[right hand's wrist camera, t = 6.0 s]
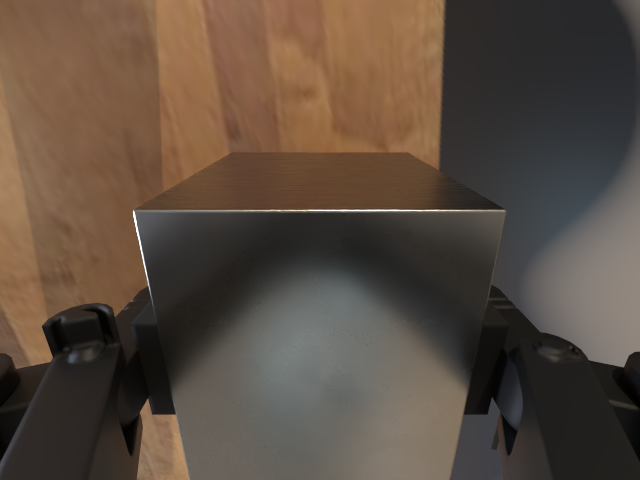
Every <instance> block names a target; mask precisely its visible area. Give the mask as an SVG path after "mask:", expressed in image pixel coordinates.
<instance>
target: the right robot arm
mask: <svg viewBox="0 0 640 480" xmlns="http://www.w3.org/2000/svg"><path fill="white" fill-rule="evenodd" d="M42 328H43V331H44V334H45V336H46V339H47V342H48V345H49V348H50V350H51V353H52V356H53V359H52V361H51V362H49V363H44V364H39V365H34V366H29V367H24V368H20V369H16V367H15V365H14V363H13V360H12V358H11V357H10V356H8V355H7V354H3V353H0V480H136V479H137V470H138V462H139V454H140V446H141V437H142V429H143V425H142V419H141V415H140V411H141V409H142V407H143V406H144V404H145V402H146V400H147V399H149V403H150V407H151V411H152V414H176V413H175V408H174V403H173V398H172V394H171V389H170V384H169V380H168V375H167V370H166V365H165V361H164V356H163V351H162V347H161V342H160V337H159V332H158V328H157V323H156V318H155V314H154V309H153V304H152V299H151V295H150V290H149V286H148V287H146V288H144V289H142V290H141V291H140V292H139V293H138V294H137V295H136V296H135V297H134V298H133V299H132V302H129V303H128V305H127V306H126V307H125V308H124V310H122V311H121V312H120V313H119V314H118V315H117V316H116V317H115V316H114V313H113V309H112V308H111V307H110V306H108V305H107V304H100V303H93V304H84V305H80V306H76V307H72V308H70V309H67V310H65V311H62V312H60V313H58V314H56V315H55V316H53V317H51V318H50V319H48V320H47V321H46V322H45V323H44V324H43V325H42ZM492 397H493V399H494V401H495V402H496V404H497V406H498V408H499V409H500V415H499V419H498V423H497V426H496V430H495V434H494V438H493V442H492V449H495V450H496V449H497V446H498V442H499V444H500V453H501V461H502V469H503V478H504V480H640V352H634V353H633V354H631V355H629V357H628V359H627V362H626V364H625V367H624V368H623V367H618V366H614V365H609V364H603V363H599V362H594V361H589V360H588V358H587V357H586V355H585V354H584V353H583V352H582V350H581V349H579V348H578V347H577V346H575V345H574V344H572V343H571V342H569V341H567V340H565V339H563V338H560V337H558V336H555V335H551V334H548V333H540V332H539V331H538V329H537V328H536V327H535V326H534V325H533V324H532V323H531V322H530V321H529V320H528V319H527V318H526V317H525V316H524V315H523V314H522V313H521V312H520V311H519V310H518V309H516V306H515V305H514V304H513V303H512V302H511V301H508V298H507V297H506V296H505V295H504V294H503V293H502V292H501V291H500V290H499V289H498V288H496V287H494V286H493V285H491V288H490V293H489V297H488V302H487V307H486V312H485V316H484V321H483V326H482V330H481V335H480V340H479V345H478V349H477V354H476V359H475V364H474V368H473V373H472V378H471V382H470V387H469V392H468V397H467V401H466V406H465V411H464V414H488V410H489V406H490V402H491V398H492Z"/></svg>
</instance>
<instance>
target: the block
mask: <svg viewBox="0 0 640 480" xmlns="http://www.w3.org/2000/svg"><path fill="white" fill-rule="evenodd" d="M133 214H134V219H135V224H136V229H137V233H138V238H139V243H140V247H141V252H142V257H143V262H144V266H145V271H146V276H147V280H148V285H149V290H150V295H151V299H152V304H153V309H154V314H155V318H156V323H157V328H158V332H159V337H160V342H161V347H162V351H163V356H164V361H165V365H166V370H167V375H168V380H169V384H170V389H171V394H172V398H173V403H174V408H175V413H176V417H177V422H178V427H179V431H180V436H181V441H182V446H183V450H184V455H185V460H186V465H187V469H188V474H189V479H190V480H450V477H451V472H452V468H453V463H454V458H455V453H456V449H457V444H458V439H459V435H460V430H461V425H462V420H463V416H464V411H465V406H466V401H467V397H468V392H469V387H470V382H471V378H472V373H473V368H474V364H475V359H476V354H477V349H478V345H479V340H480V335H481V330H482V326H483V321H484V316H485V312H486V307H487V302H488V297H489V293H490V288H491V283H492V278H493V274H494V269H495V264H496V259H497V255H498V250H499V245H500V240H501V236H502V231H503V226H504V222H505V217H506V210H505V209H503V208H502V207H500V206H498V205H497V204H495V203H493V202H492V201H490V200H488V199H486V198H485V197H483V196H481V195H480V194H478V193H476V192H474V191H473V190H471V189H469V188H468V187H466V186H464V185H462V184H461V183H459V182H457V181H456V180H454V179H452V178H451V177H449V176H447V175H445V174H444V173H442V172H440V171H439V170H437V169H435V168H433V167H432V166H430V165H428V164H427V163H425V162H423V161H421V160H420V159H418V158H416V157H415V156H413V155H411V154H409V153H230V154H229V155H227V156H225V157H223V158H222V159H220V160H218V161H217V162H215V163H213V164H211V165H210V166H208V167H206V168H205V169H203V170H201V171H199V172H198V173H196V174H194V175H193V176H191V177H189V178H187V179H186V180H184V181H182V182H181V183H179V184H177V185H175V186H174V187H172V188H170V189H169V190H167V191H165V192H163V193H162V194H160V195H158V196H157V197H155V198H153V199H151V200H150V201H148V202H146V203H145V204H143V205H141V206H139V207H138V208H136V209H134V211H133Z"/></svg>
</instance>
